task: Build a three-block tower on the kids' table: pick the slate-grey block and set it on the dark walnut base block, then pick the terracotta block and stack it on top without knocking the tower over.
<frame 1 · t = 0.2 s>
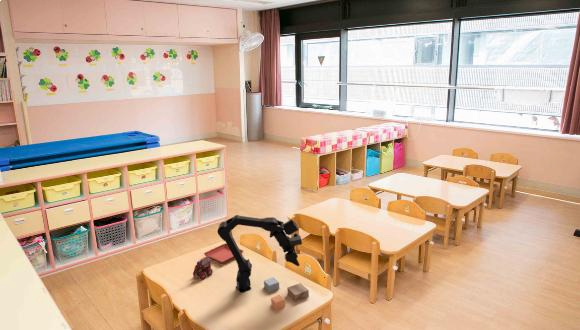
hand: (298, 261, 218), 14 cm above the table, tool tilted 30°, fingers open, 9 cm apart
terracotta block: (278, 305, 205), on the table
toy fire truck: (203, 276, 235), on the table
red square tray: (224, 257, 257), on the table
grey block: (271, 287, 221), on the table
walnut base: (298, 295, 213), on the table
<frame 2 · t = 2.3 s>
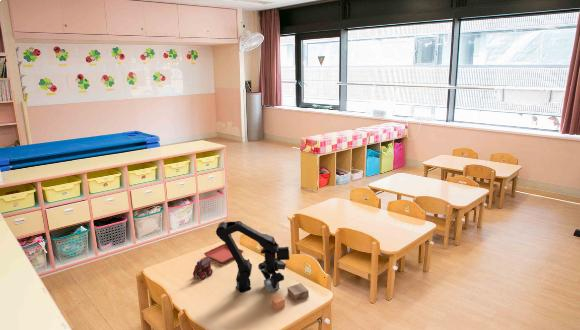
hand: (271, 285, 220), 1 cm above the table, tool pointing down, fingers closed on grey block, 6 cm apart
grey block: (271, 287, 221), on the table, touching gripper
everything else where it was.
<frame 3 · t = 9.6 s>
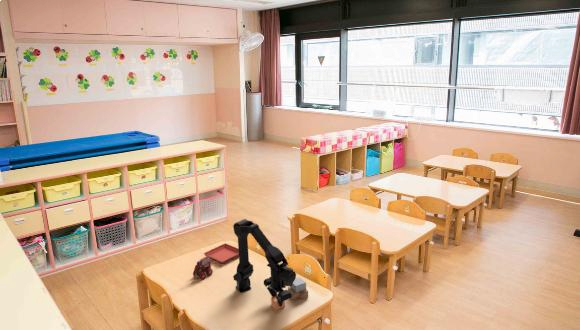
hand: (278, 303, 205), 1 cm above the table, tool pointing down, fingers closed on terracotta block, 5 cm apart
terracotta block: (278, 305, 205), on the table, touching gripper
grey block: (298, 288, 212), point 4 cm above the table, touching walnut base
walnut base: (298, 295, 213), on the table, touching grey block
everything else where it was.
when the fingers open (10 cm above the table, at t = 12.4 s): terracotta block drops 2 cm, resting on grey block.
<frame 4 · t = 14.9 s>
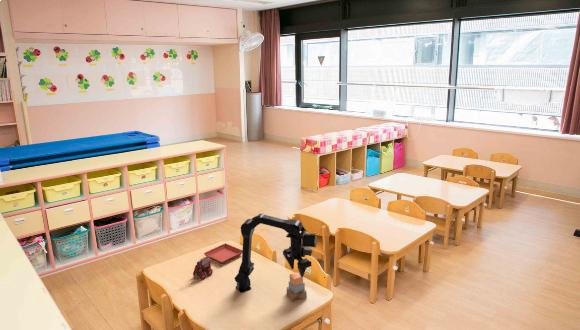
hand: (297, 272, 209), 13 cm above the table, tool pointing down, fingers open, 9 cm apart
terracotta block: (296, 282, 211), point 8 cm above the table, touching grey block
grey block: (296, 289, 212), point 4 cm above the table, touching terracotta block, walnut base
everything else where it was.
at the end: grey block 0.2 cm off-centre on the walnut base, point 4.0 cm above the walnut base's base; terracotta block 0.2 cm off-centre on the walnut base, point 8.0 cm above the walnut base's base; terracotta block tilted 0° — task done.
